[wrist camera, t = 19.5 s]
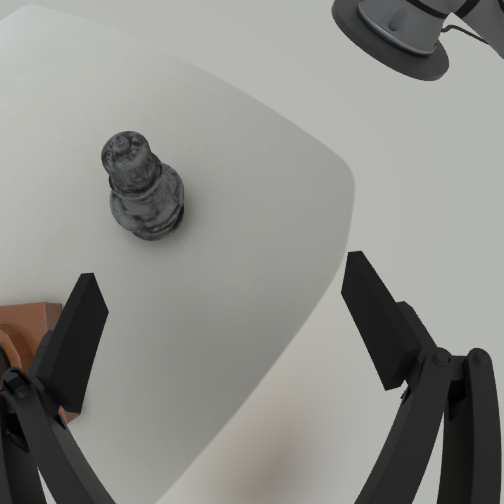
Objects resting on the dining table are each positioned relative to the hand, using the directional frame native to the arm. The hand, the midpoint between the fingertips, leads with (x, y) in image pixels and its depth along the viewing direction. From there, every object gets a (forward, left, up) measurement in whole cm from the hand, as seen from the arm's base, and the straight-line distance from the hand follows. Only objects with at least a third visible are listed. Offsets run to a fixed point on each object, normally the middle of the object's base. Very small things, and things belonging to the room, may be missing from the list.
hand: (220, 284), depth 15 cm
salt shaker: (+4, -8, -10) cm, 13 cm away
